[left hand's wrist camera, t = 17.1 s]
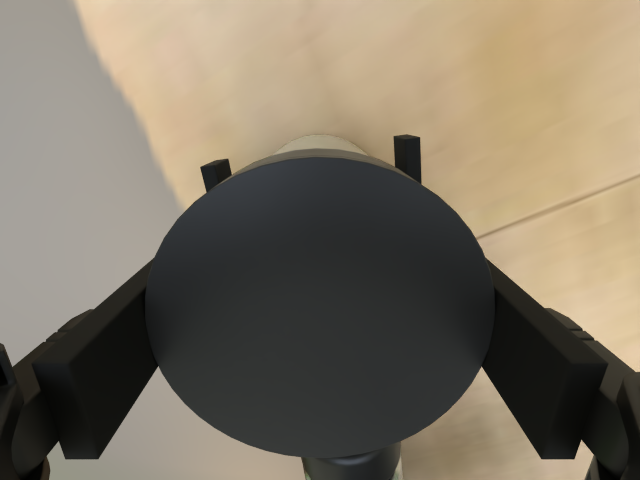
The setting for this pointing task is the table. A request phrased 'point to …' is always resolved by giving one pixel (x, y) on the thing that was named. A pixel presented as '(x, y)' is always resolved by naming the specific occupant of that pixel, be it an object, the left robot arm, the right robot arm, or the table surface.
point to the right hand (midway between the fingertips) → (309, 149)
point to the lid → (319, 305)
